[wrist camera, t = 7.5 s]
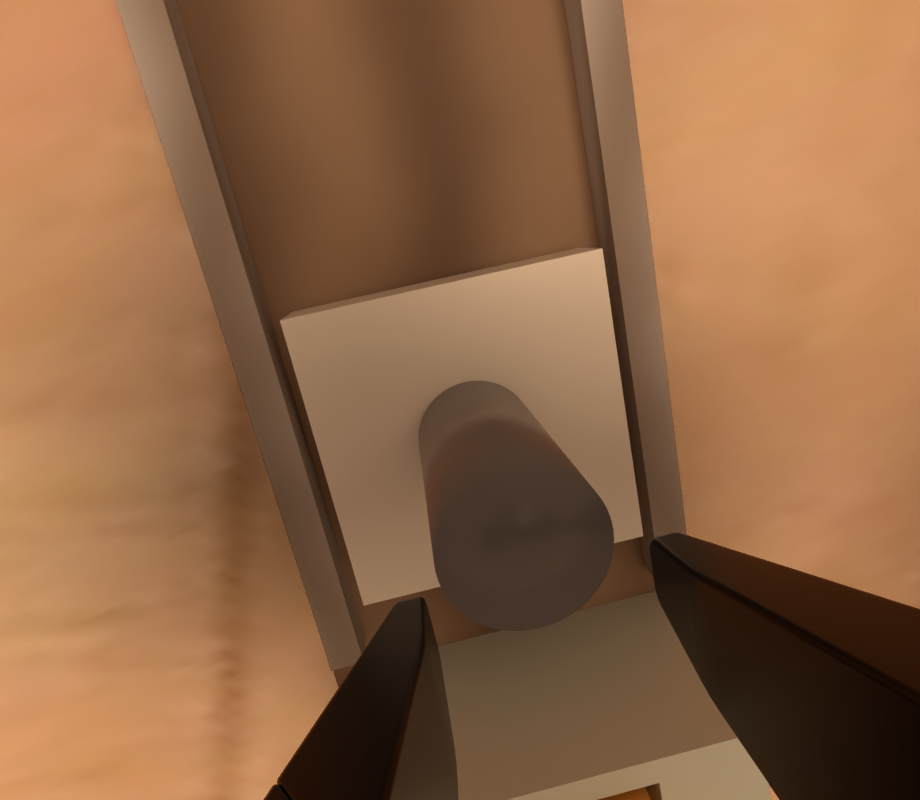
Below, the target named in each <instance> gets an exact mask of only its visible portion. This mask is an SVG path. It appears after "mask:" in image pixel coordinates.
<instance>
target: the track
mask: <svg viewBox="0 0 920 800" xmlns="http://www.w3.org/2000/svg"><path fill="white" fill-rule="evenodd" d="M116 3H117V6H118V10H119V13H120V16H121V19H122V22H123V25H124V28H125V31H126V34H127V38H128V41H129V44H130V47H131V50H132V53H133V56H134V59H135V62H136V65H137V69H138V72H139V75H140V78H141V81H142V84H143V87H144V90H145V93H146V97H147V100H148V103H149V106H150V109H151V112H152V115H153V118H154V121H155V124H156V128H157V131H158V134H159V137H160V140H161V143H162V146H163V149H164V152H165V156H166V159H167V162H168V165H169V168H170V171H171V174H172V177H173V180H174V183H175V187H176V190H177V193H178V196H179V199H180V202H181V205H182V208H183V211H184V215H185V218H186V221H187V224H188V227H189V230H190V233H191V236H192V239H193V242H194V246H195V249H196V252H197V255H198V258H199V261H200V264H201V267H202V270H203V274H204V277H205V280H206V283H207V286H208V289H209V292H210V295H211V298H212V301H213V305H214V308H215V311H216V314H217V317H218V320H219V323H220V326H221V329H222V333H223V336H224V339H225V342H226V345H227V348H228V351H229V354H230V357H231V360H232V364H233V367H234V370H235V373H236V376H237V379H238V382H239V385H240V388H241V392H242V395H243V398H244V401H245V404H246V407H247V410H248V413H249V416H250V419H251V423H252V426H253V429H254V432H255V435H256V438H257V441H258V444H259V447H260V451H261V454H262V457H263V460H264V463H265V466H266V469H267V472H268V475H269V478H270V482H271V485H272V488H273V491H274V494H275V497H276V500H277V503H278V506H279V510H280V513H281V516H282V519H283V522H284V525H285V528H286V531H287V534H288V537H289V541H290V544H291V547H292V550H293V553H294V556H295V559H296V562H297V565H298V569H299V572H300V575H301V578H302V581H303V584H304V587H305V590H306V593H307V596H308V600H309V603H310V606H311V609H312V612H313V615H314V618H315V621H316V624H317V628H318V631H319V634H320V637H321V640H322V643H323V646H324V649H325V652H326V655H327V659H328V662H329V665H330V668H331V671H332V670H333V671H334V674H335V677H336V680H337V684H338V687H340V685H341V684H342V682H343V681H344V679H345V678H346V676H347V675H348V673H349V672H350V670H351V669H352V667H353V666H354V664H355V663H356V661H357V660H358V658H359V657H360V655H361V654H362V653H363V651H364V650H365V648H366V647H367V645H368V644H369V642H370V641H371V639H372V638H373V636H374V635H375V633H376V632H377V630H378V629H379V627H380V626H381V624H382V623H383V621H384V620H385V618H386V617H387V615H388V614H389V612H390V611H391V609H392V608H393V606H394V605H395V604H396V603H397V602H399V601H403V600H407V599H411V598H415V597H423V598H424V599H425V600H426V603H427V606H428V610H429V614H430V618H431V622H432V626H433V629H434V633H435V637H436V641H437V645H438V646H442V645H446V644H450V643H454V642H458V641H462V640H466V639H469V638H473V637H477V636H481V635H485V634H489V633H493V632H497V631H501V630H500V629H495V628H491V627H488V626H485V625H482V624H480V623H478V622H475V621H473V620H472V619H470V618H468V617H467V616H465V615H464V614H463V613H461V612H460V611H459V610H458V609H457V608H456V607H455V606H454V605H453V604H452V603H451V602H450V601H449V599H448V598H447V596H446V595H445V594H444V592H443V590H442V588H441V587H437V588H433V589H429V590H425V591H421V592H417V593H413V594H409V595H405V596H401V597H397V598H393V599H389V600H385V601H381V602H377V603H373V604H369V605H365V606H364V605H363V602H362V598H361V595H360V592H359V588H358V585H357V581H356V578H355V575H354V571H353V568H352V564H351V561H350V558H349V554H348V551H347V547H346V544H345V541H344V537H343V534H342V530H341V527H340V524H339V520H338V517H337V513H336V510H335V507H334V503H333V500H332V496H331V493H330V490H329V486H328V483H327V479H326V476H325V473H324V469H323V466H322V462H321V459H320V456H319V452H318V449H317V445H316V442H315V439H314V435H313V432H312V428H311V425H310V422H309V418H308V415H307V411H306V408H305V405H304V401H303V398H302V394H301V391H300V388H299V384H298V381H297V377H296V374H295V371H294V367H293V364H292V360H291V357H290V354H289V350H288V347H287V343H286V340H285V337H284V333H283V330H282V326H281V323H280V320H281V319H283V318H284V317H286V316H287V315H289V314H290V313H292V312H293V311H298V310H302V309H307V308H311V307H316V306H320V305H324V304H329V303H333V302H338V301H342V300H347V299H351V298H356V297H360V296H365V295H369V294H374V293H378V292H383V291H387V290H392V289H396V288H400V287H405V286H409V285H414V284H418V283H423V282H427V281H432V280H436V279H441V278H445V277H450V276H454V275H459V274H463V273H468V272H472V271H476V270H481V269H485V268H490V267H494V266H499V265H503V264H508V263H512V262H517V261H521V260H526V259H530V258H535V257H539V256H544V255H548V254H552V253H557V252H561V251H566V250H570V249H575V248H602V249H603V256H604V263H605V270H606V277H607V284H608V291H609V298H610V305H611V312H612V319H613V327H614V334H615V341H616V348H617V355H618V362H619V369H620V376H621V383H622V390H623V397H624V404H625V411H626V418H627V425H628V432H629V439H630V446H631V453H632V460H633V467H634V474H635V481H636V488H637V495H638V502H639V509H640V516H641V523H642V530H643V536H641V537H637V538H633V539H629V540H625V541H621V542H617V543H614V551H613V556H612V561H611V564H610V567H609V570H608V572H607V574H606V576H605V579H604V581H603V582H602V584H601V585H600V587H599V588H598V590H597V591H596V592H595V594H594V595H593V596H592V597H591V598H590V600H588V601H587V602H586V603H585V604H584V605H583V606H582V607H581V608H580V609H578V610H577V611H580V610H584V609H587V608H591V607H595V606H599V605H603V604H607V603H611V602H615V601H619V600H623V599H627V598H631V597H635V596H639V595H643V594H646V593H650V592H654V591H655V585H654V578H653V571H652V564H651V557H650V549H649V546H650V541H651V540H652V539H653V538H655V537H659V536H663V535H666V534H670V533H677V532H678V533H681V534H685V535H687V534H686V526H685V518H684V510H683V501H682V493H681V485H680V476H679V468H678V460H677V451H676V443H675V435H674V427H673V418H672V410H671V402H670V393H669V385H668V377H667V368H666V360H665V352H664V343H663V335H662V327H661V319H660V310H659V302H658V294H657V285H656V277H655V269H654V260H653V252H652V244H651V236H650V227H649V219H648V211H647V202H646V194H645V186H644V177H643V169H642V161H641V152H640V144H639V136H638V128H637V119H636V111H635V103H634V94H633V86H632V78H631V69H630V61H629V53H628V45H627V36H626V28H625V20H624V11H623V3H622V0H116Z"/></svg>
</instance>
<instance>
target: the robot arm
mask: <svg viewBox="0 0 920 800" xmlns="http://www.w3.org/2000/svg"><path fill="white" fill-rule="evenodd" d="M649 549H650V557H651V564H652V571H653V578H654V585H655V591H656V594H657V597H658V600H659V603H660V605H661V607H662V609H663V611H664V612H665V614H666V616H667V618H668V620H669V622H670V624H671V626H672V627H673V629H674V631H675V633H676V635H677V637H678V639H679V641H680V642H681V644H682V646H683V648H684V650H685V652H686V654H687V656H688V657H689V659H690V661H691V663H692V665H693V667H694V669H695V671H696V672H697V674H698V676H699V678H700V680H701V682H702V684H703V685H704V687H705V689H706V691H707V692H708V694H709V696H710V698H711V699H712V701H713V702H714V704H715V705H716V707H717V708H718V710H719V712H720V713H721V714H722V716H723V717H724V719H725V720H726V722H727V723H728V725H729V726H730V728H731V729H732V731H733V732H734V734H735V735H736V736H737V738H738V739H739V741H740V742H741V744H742V745H743V747H744V748H745V750H746V751H747V753H748V754H749V755H750V757H751V758H752V760H753V761H754V763H755V764H756V766H757V767H758V769H759V770H760V772H761V773H762V775H763V776H764V777H765V779H766V780H767V782H768V783H769V785H770V786H771V788H772V789H773V791H774V792H775V794H776V795H777V797H778V798H779V799H780V800H920V609H918V608H915V607H911V606H908V605H905V604H902V603H899V602H896V601H893V600H889V599H886V598H883V597H880V596H877V595H874V594H870V593H867V592H864V591H861V590H858V589H855V588H852V587H848V586H845V585H842V584H839V583H836V582H833V581H830V580H826V579H823V578H820V577H817V576H814V575H811V574H807V573H804V572H801V571H798V570H795V569H792V568H789V567H785V566H782V565H779V564H776V563H773V562H770V561H766V560H763V559H760V558H757V557H754V556H751V555H748V554H744V553H741V552H738V551H735V550H732V549H729V548H726V547H722V546H719V545H716V544H713V543H710V542H707V541H703V540H700V539H697V538H694V537H691V536H688V535H685V534H681V533H678V532H677V533H670V534H666V535H663V536H659V537H655V538H653V539H652V540H651V541H650V546H649ZM277 784H278V785H277ZM277 784H276V785H274V786H272V788H271V789H270V791H269V792H268V794H267V795H266V797H265V798H264V800H459V799H458V777H457V762H456V754H455V746H454V740H453V734H452V727H451V721H450V715H449V709H448V702H447V696H446V690H445V684H444V677H443V671H442V665H441V659H440V654H439V649H438V645H437V641H436V637H435V633H434V629H433V626H432V622H431V618H430V614H429V610H428V606H427V603H426V600H425V599H424V598H423V597H415V598H411V599H407V600H403V601H399V602H397V603H396V604H395V605H394V606H393V608H392V609H391V611H390V612H389V614H388V615H387V617H386V618H385V620H384V621H383V623H382V624H381V626H380V627H379V629H378V630H377V632H376V633H375V635H374V636H373V638H372V639H371V641H370V642H369V644H368V645H367V647H366V648H365V650H364V651H363V653H362V654H361V655H360V657H359V658H358V660H357V661H356V663H355V664H354V666H353V667H352V669H351V670H350V672H349V673H348V675H347V676H346V678H345V679H344V681H343V682H342V684H341V685H340V687H339V688H338V690H337V691H336V693H335V694H334V696H333V697H332V699H331V700H330V702H329V703H328V705H327V706H326V708H325V709H324V711H323V712H322V714H321V715H320V717H319V718H318V720H317V721H316V723H315V724H314V726H313V727H312V729H311V730H310V732H309V733H308V735H307V736H306V738H305V739H304V741H303V742H302V744H301V745H300V747H299V748H298V750H297V751H296V752H295V754H294V755H293V757H292V758H291V760H290V761H289V763H288V764H287V766H286V767H285V769H284V770H283V772H282V773H281V775H280V776H279V778H278V780H277Z"/></svg>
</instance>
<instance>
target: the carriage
mask: <svg viewBox="0 0 920 800" xmlns="http://www.w3.org/2000/svg"><path fill="white" fill-rule="evenodd" d="M280 323H281V326H282V330H283V333H284V337H285V340H286V343H287V347H288V350H289V354H290V357H291V360H292V364H293V367H294V371H295V374H296V377H297V381H298V384H299V388H300V391H301V394H302V398H303V401H304V405H305V408H306V411H307V415H308V418H309V422H310V425H311V428H312V432H313V435H314V439H315V442H316V445H317V449H318V452H319V456H320V459H321V462H322V466H323V469H324V473H325V476H326V479H327V483H328V486H329V490H330V493H331V496H332V500H333V503H334V507H335V510H336V513H337V517H338V520H339V524H340V527H341V530H342V534H343V537H344V541H345V544H346V547H347V551H348V554H349V558H350V561H351V564H352V568H353V571H354V575H355V578H356V581H357V585H358V588H359V592H360V595H361V598H362V602H363V605H364V606H365V605H369V604H373V603H377V602H381V601H385V600H389V599H393V598H397V597H401V596H405V595H409V594H413V593H417V592H421V591H425V590H429V589H433V588H437V587H441V588H442V590H443V592H444V594H445V595H446V596H447V598H448V599H449V601H450V602H451V603H452V604H453V605H454V606H455V607H456V608H457V609H458V610H459V611H460V612H461V613H463V614H464V615H465V616H467V617H468V618H470V619H472V620H473V621H475V622H478V623H480V624H482V625H485V626H488V627H491V628H495V629H500V630H506V631H524V630H533V629H538V628H542V627H545V626H548V625H552V624H554V623H556V622H558V621H561V620H563V619H565V618H566V617H568V616H570V615H571V614H573V613H574V612H576V611H577V610H578V609H580V608H581V607H582V606H583V605H584V604H585V603H586V602H587V601H588V600H590V598H591V597H592V596H593V595H594V594H595V592H596V591H597V590H598V588H599V587H600V585H601V584H602V582H603V581H604V579H605V576H606V574H607V572H608V570H609V567H610V564H611V561H612V556H613V551H614V543H617V542H621V541H625V540H629V539H633V538H637V537H641V536H643V530H642V523H641V516H640V509H639V502H638V495H637V488H636V481H635V474H634V467H633V460H632V453H631V446H630V439H629V432H628V425H627V418H626V411H625V404H624V397H623V390H622V383H621V376H620V369H619V362H618V355H617V348H616V341H615V334H614V327H613V319H612V312H611V305H610V298H609V291H608V284H607V277H606V270H605V263H604V256H603V249H602V248H575V249H570V250H566V251H561V252H557V253H552V254H548V255H544V256H539V257H535V258H530V259H526V260H521V261H517V262H512V263H508V264H503V265H499V266H494V267H490V268H485V269H481V270H476V271H472V272H468V273H463V274H459V275H454V276H450V277H445V278H441V279H436V280H432V281H427V282H423V283H418V284H414V285H409V286H405V287H400V288H396V289H392V290H387V291H383V292H378V293H374V294H369V295H365V296H360V297H356V298H351V299H347V300H342V301H338V302H333V303H329V304H324V305H320V306H316V307H311V308H307V309H302V310H298V311H293V312H292V313H290V314H289V315H287V316H286V317H284V318H283V319H281V320H280Z"/></svg>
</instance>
